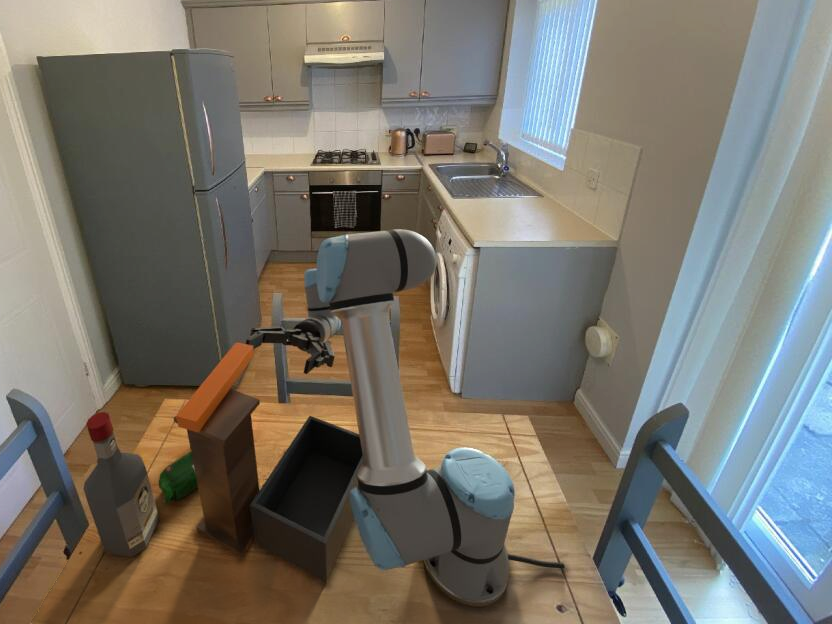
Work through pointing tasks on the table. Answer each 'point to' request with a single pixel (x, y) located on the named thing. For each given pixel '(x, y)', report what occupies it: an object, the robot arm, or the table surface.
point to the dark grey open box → (310, 498)
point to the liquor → (119, 493)
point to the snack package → (178, 478)
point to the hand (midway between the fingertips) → (275, 356)
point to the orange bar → (214, 388)
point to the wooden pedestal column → (227, 471)
